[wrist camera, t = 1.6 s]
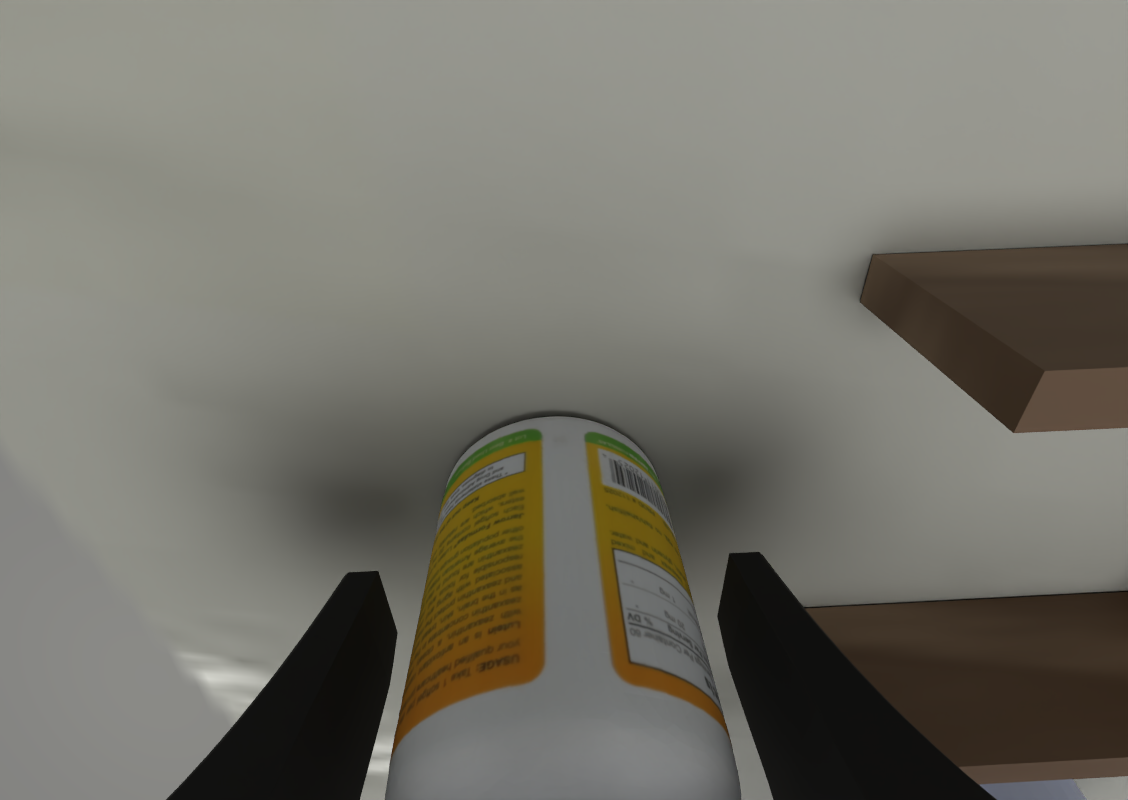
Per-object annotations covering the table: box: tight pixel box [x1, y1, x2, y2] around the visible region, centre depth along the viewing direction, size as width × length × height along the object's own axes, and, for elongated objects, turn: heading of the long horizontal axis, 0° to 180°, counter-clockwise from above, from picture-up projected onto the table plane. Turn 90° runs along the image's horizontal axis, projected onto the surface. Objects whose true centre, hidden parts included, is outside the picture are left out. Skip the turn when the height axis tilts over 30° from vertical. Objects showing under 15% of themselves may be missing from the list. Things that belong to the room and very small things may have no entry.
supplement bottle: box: [385, 416, 741, 800], centre depth 10 cm, size 5×5×10 cm
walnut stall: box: [805, 244, 1128, 784], centre depth 13 cm, size 12×12×4 cm
